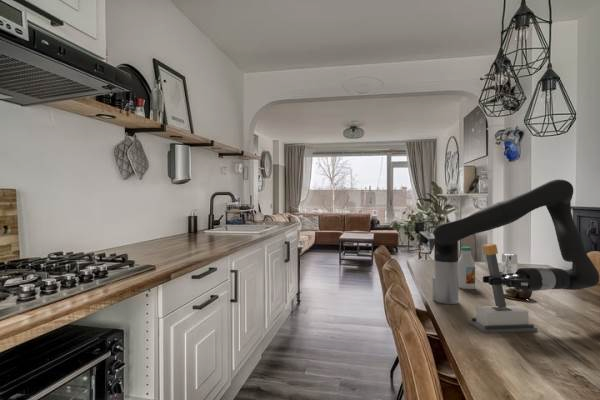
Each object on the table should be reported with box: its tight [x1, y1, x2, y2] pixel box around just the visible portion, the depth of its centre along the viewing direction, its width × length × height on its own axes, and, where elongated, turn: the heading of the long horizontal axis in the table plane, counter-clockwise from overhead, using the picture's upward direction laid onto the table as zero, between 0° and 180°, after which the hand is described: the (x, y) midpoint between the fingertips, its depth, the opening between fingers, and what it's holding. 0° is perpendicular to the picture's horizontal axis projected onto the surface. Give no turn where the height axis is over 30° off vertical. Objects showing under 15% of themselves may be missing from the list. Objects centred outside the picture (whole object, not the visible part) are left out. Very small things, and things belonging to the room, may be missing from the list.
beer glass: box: [501, 253, 518, 274], centre depth 176 cm, size 7×7×15 cm
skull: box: [503, 286, 533, 302], centre depth 150 cm, size 12×10×10 cm
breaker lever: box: [481, 243, 507, 308], centre depth 115 cm, size 3×3×21 cm
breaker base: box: [468, 305, 538, 334], centre depth 115 cm, size 18×9×6 cm, turn 94°
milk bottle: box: [458, 246, 476, 290], centre depth 168 cm, size 8×8×20 cm
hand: (486, 280), depth 115 cm, fingers closed on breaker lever, 2 cm apart
